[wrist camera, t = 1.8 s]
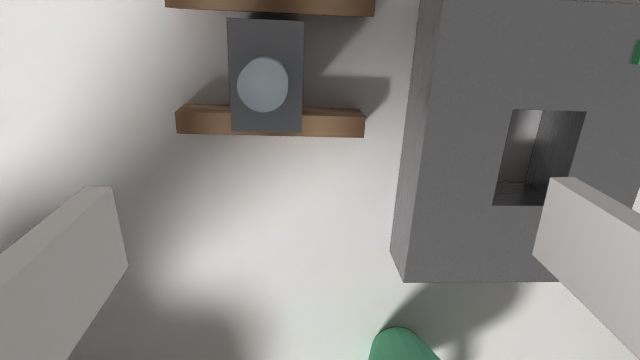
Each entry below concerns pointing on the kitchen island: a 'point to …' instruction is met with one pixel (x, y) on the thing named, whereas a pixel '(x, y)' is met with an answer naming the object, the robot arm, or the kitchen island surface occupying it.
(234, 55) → the plug
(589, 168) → the port block
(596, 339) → the kitchen island surface
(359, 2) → the wooden planks
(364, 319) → the kitchen island surface
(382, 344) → the mug
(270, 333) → the kitchen island surface
